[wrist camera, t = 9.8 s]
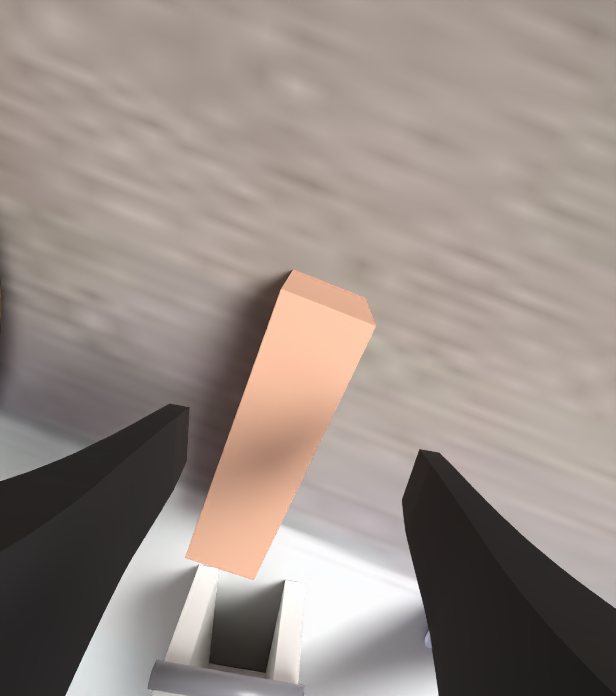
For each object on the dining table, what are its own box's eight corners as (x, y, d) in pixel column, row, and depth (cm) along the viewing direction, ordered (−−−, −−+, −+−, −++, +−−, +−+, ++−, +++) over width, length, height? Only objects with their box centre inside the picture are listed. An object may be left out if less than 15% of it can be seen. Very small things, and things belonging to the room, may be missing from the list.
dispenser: (310, 572, 26) (302, 718, 19) (282, 686, 32) (267, 833, 24) (197, 553, 26) (144, 690, 19) (188, 669, 32) (145, 812, 24)
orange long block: (365, 296, 19) (376, 325, 14) (268, 509, 25) (253, 580, 20) (293, 268, 18) (281, 288, 14) (213, 490, 24) (184, 558, 20)
